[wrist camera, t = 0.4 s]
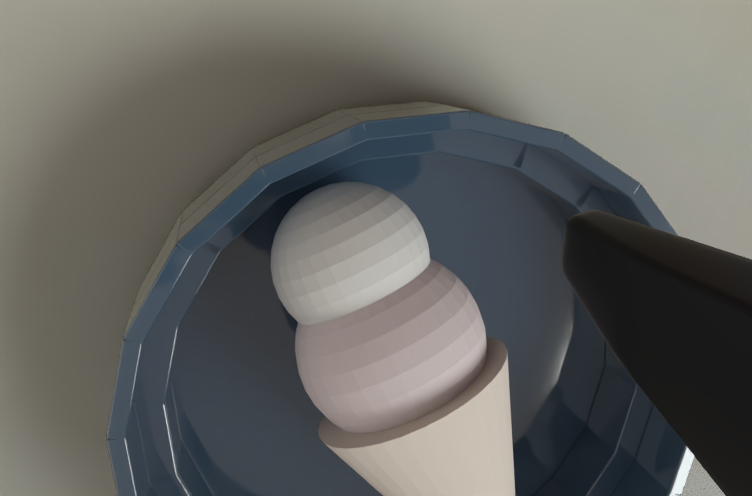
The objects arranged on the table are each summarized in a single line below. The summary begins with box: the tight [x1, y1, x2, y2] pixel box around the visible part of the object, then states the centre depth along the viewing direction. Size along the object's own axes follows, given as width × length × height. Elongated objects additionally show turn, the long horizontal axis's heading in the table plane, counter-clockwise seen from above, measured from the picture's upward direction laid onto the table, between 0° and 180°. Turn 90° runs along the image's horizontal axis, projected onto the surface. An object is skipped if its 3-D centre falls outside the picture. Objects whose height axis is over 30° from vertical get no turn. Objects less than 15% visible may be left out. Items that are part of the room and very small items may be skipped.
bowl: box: [106, 101, 695, 496], centre depth 23 cm, size 18×18×4 cm
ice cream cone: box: [271, 182, 515, 496], centre depth 22 cm, size 6×6×15 cm
